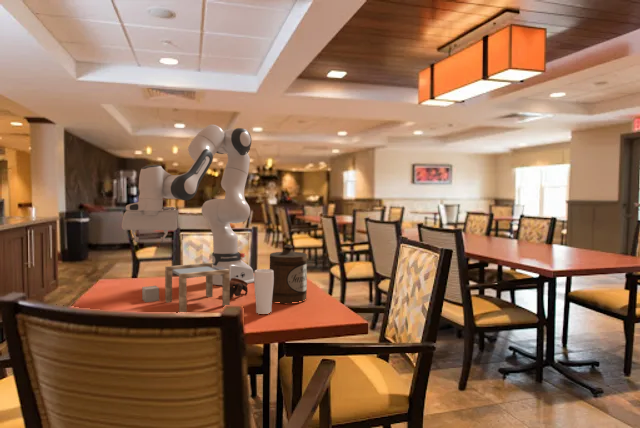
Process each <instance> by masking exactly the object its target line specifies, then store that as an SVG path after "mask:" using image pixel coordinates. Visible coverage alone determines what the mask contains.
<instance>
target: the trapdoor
mask: <svg viewBox="0 0 640 428" xmlns="http://www.w3.org/2000/svg"><path fill="white" fill-rule="evenodd" d="M212 267H213V266H212ZM212 267H209V266H207V267H196V268H185V269H174V270H172V274H175V275H176V276H178V277H179V274H182V273H192V272H203V271H213V270H223V269H226V268H223V267H213V268H212ZM212 276H213V275H212ZM221 276H222V274H221ZM203 277H205V276H202V277H201V278H203ZM193 278H195V277H193ZM193 278H192V279H193Z"/></svg>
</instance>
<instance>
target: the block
mask: <svg viewBox="0 0 640 428" xmlns="http://www.w3.org/2000/svg"><path fill="white" fill-rule="evenodd" d="M141 289H142V290H141V291H142V292H141V293H142V294H141V295H142V296H141V297H142V298H141V299H142V301H143V302H144V303H151V302H158V301H159V302H160V287H158V286H157V285H149V286H142V288H141Z"/></svg>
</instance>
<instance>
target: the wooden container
mask: <svg viewBox="0 0 640 428" xmlns="http://www.w3.org/2000/svg"><path fill="white" fill-rule="evenodd" d="M283 248H284V250H283V251H276V252H272V253H270V254H269V269H271V270H273V271H274V285H273V296H272V301H273V302H280V303H292V302H299V301H303V300H305V299H306V300H307V288H308V287H307V286H308V283H307V282H308V281H307V280H308V278H307V277H308V276H307V275H308V274H307V273H308V269H307V268H308V267H307V264H308V262H307V258H308V255H307V253H305V252H300V251H299V252H298V251H294V250H293V245H291V244H289V243H287V244H285V245H284V246H283ZM273 302H272V303H273Z"/></svg>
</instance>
